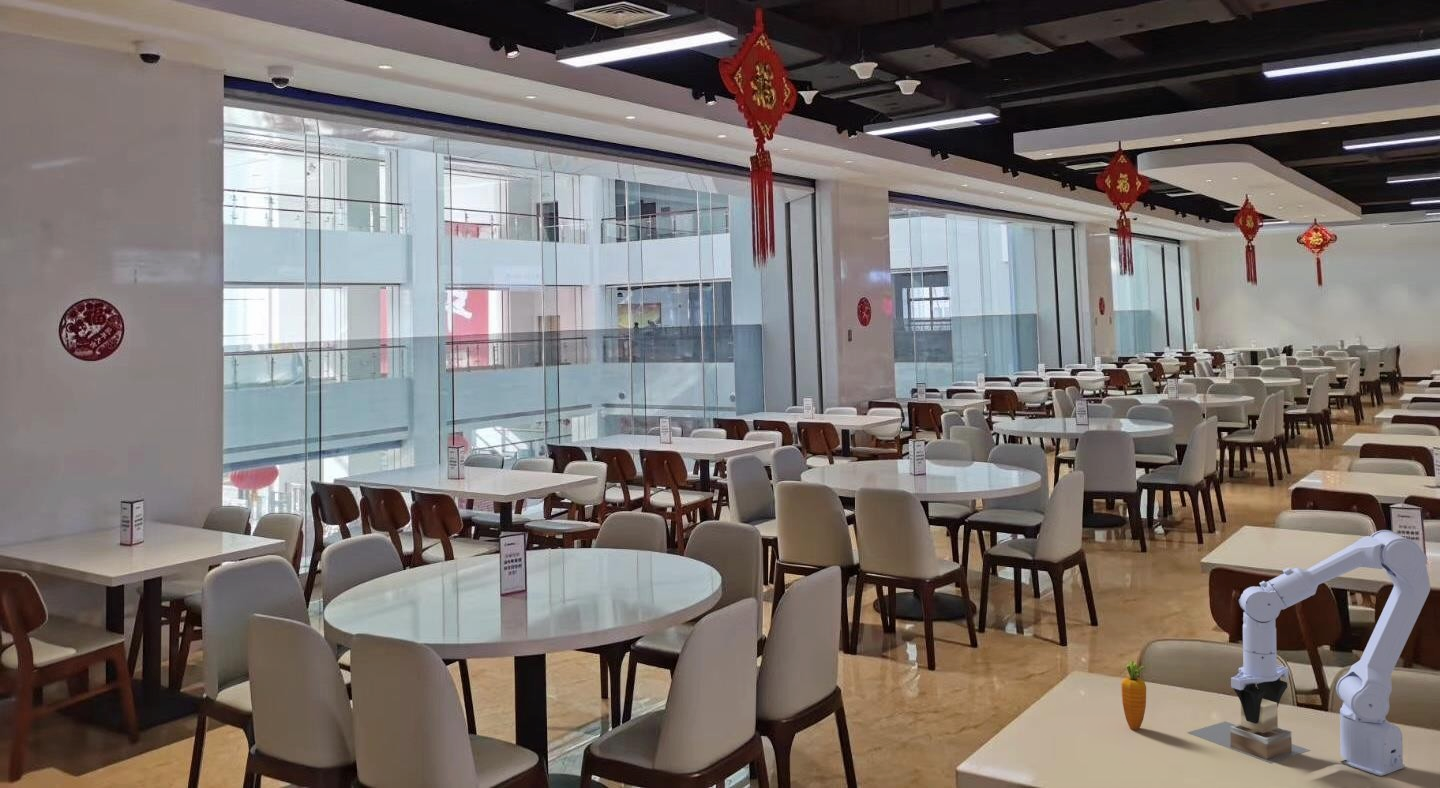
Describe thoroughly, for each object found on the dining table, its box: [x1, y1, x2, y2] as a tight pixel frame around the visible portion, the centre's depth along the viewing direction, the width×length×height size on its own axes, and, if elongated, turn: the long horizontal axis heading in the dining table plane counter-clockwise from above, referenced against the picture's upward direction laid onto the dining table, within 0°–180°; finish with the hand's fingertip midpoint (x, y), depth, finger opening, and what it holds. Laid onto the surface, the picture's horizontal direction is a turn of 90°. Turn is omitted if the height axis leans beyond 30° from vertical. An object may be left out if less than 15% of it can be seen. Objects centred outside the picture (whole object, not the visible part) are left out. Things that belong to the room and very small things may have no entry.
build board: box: [1186, 721, 1311, 764], centre depth 197 cm, size 18×12×1 cm, turn 27°
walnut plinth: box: [1230, 723, 1293, 760], centre depth 192 cm, size 8×8×4 cm
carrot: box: [1120, 661, 1147, 731], centre depth 205 cm, size 5×5×15 cm
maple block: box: [1240, 698, 1279, 733], centre depth 192 cm, size 4×4×5 cm
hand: (1260, 719), depth 192 cm, fingers closed on maple block, 4 cm apart
